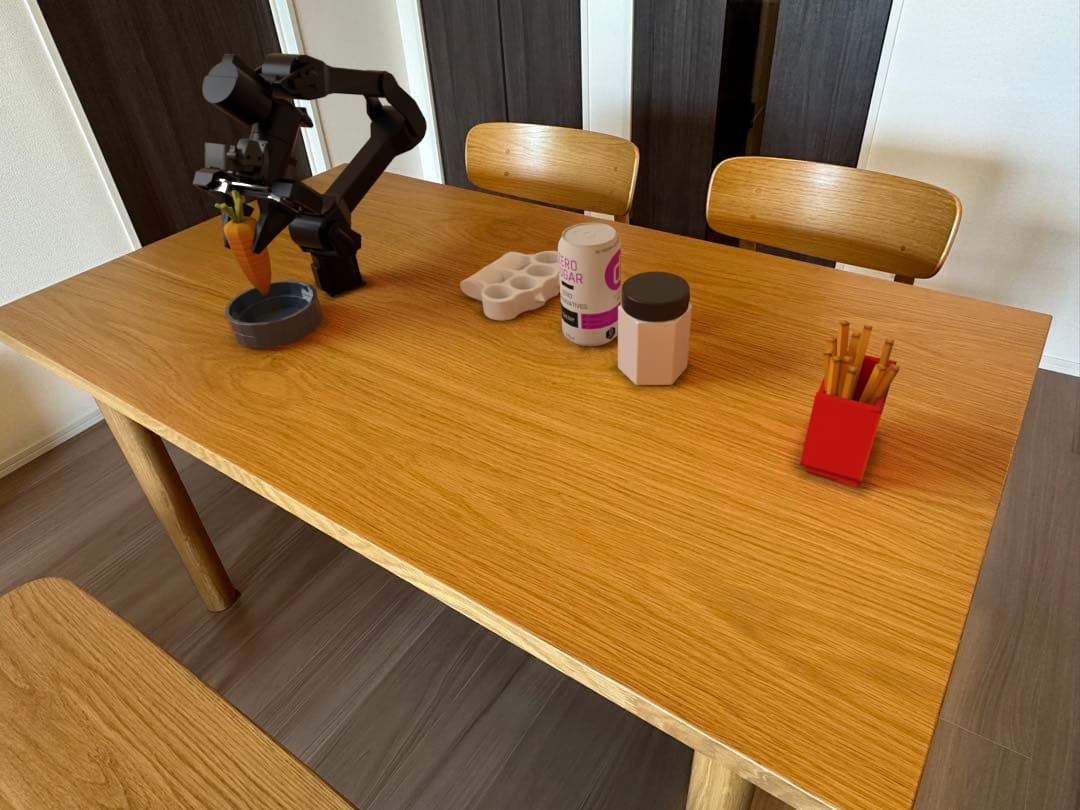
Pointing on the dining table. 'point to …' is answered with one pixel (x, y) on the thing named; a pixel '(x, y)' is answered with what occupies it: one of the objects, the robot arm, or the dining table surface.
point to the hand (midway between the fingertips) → (241, 250)
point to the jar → (654, 328)
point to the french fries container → (847, 407)
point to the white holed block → (515, 284)
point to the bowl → (274, 314)
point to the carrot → (246, 245)
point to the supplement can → (590, 283)
